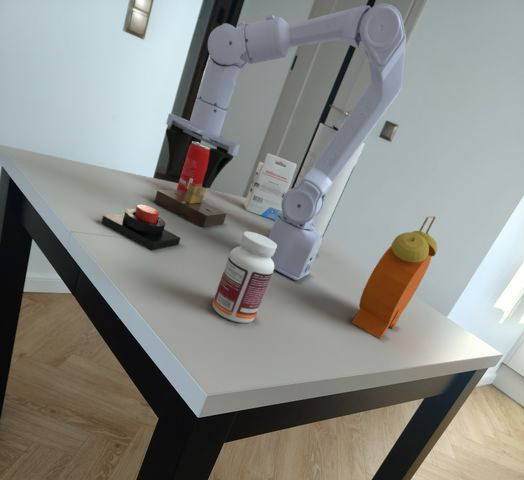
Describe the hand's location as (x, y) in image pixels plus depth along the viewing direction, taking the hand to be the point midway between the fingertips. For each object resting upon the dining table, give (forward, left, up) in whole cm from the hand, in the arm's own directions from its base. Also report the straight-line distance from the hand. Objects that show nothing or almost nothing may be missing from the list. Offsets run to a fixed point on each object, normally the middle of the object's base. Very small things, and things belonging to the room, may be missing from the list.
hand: (189, 178), depth 95 cm
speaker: (-18, -23, -8) cm, 30 cm away
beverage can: (+9, -17, -8) cm, 21 cm away
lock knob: (+1, -7, -5) cm, 9 cm away
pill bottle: (-26, +27, -8) cm, 38 cm away
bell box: (-3, +17, -8) cm, 19 cm away
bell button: (-3, +17, -5) cm, 18 cm away
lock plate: (+2, -7, -8) cm, 11 cm away
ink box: (-2, -37, -8) cm, 38 cm away
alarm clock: (-43, +2, -8) cm, 44 cm away
